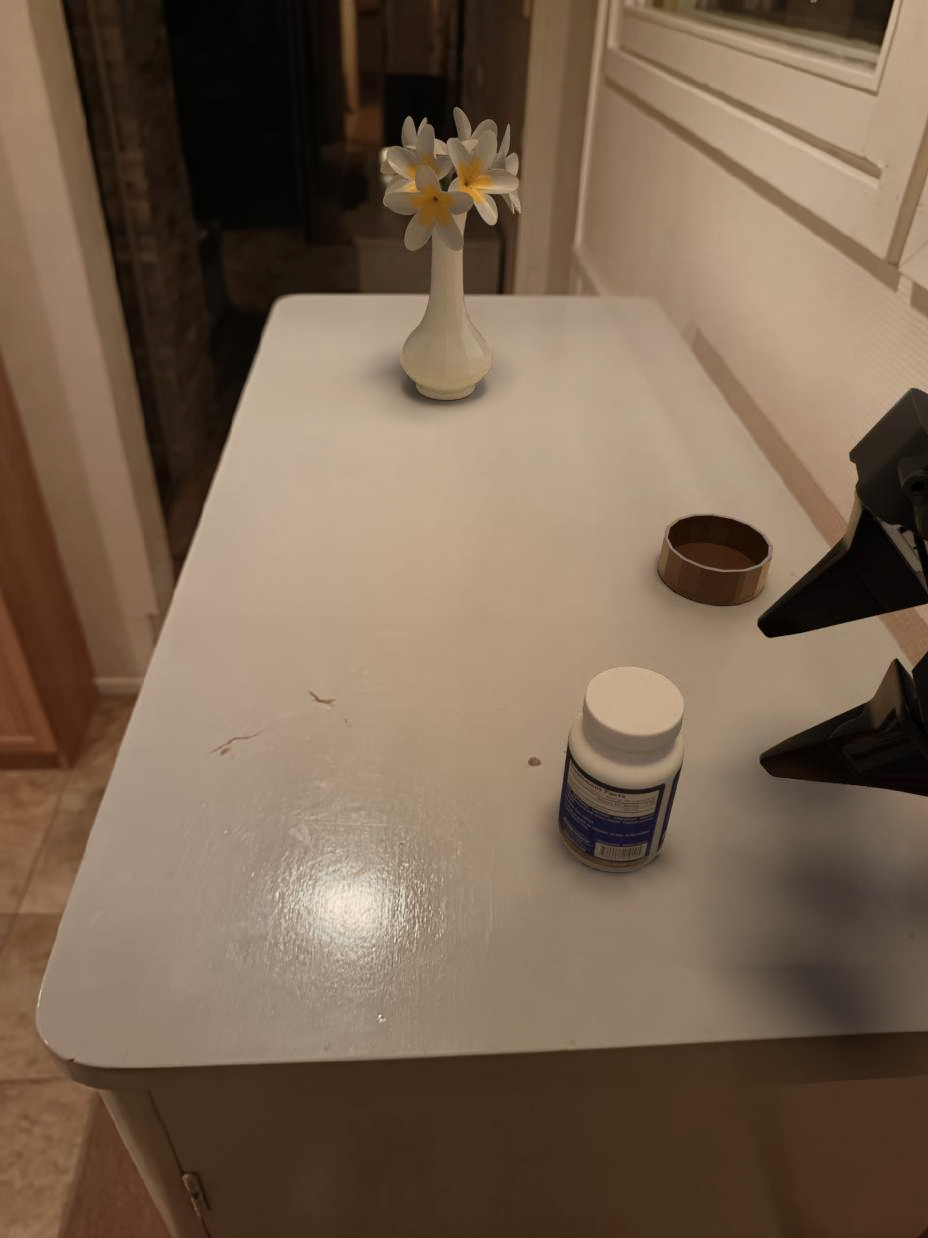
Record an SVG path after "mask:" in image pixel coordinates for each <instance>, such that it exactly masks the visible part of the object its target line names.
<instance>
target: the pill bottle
mask: <svg viewBox="0 0 928 1238" xmlns="http://www.w3.org/2000/svg"><path fill="white" fill-rule="evenodd" d="M684 714H685V700H684V697H683V695H682V692H681V691H680V689H679V688H678V687H677V686H676V684H674V682H672V681H671V680H670V679H668V678H667V677H666V676H664V675H662V674H660V673H658V672H656V671H654V670H650V669H648V668H647V669H646V668H644V667H643V668H642V667H638V666H617V667H612V668H609V669H606V670H604V671H602V672H600V673H598V674H597V675H596V676H594V677H593V678H592V679H591V680H590V681H589V683H588V684H587V687H586V689H585V692H584V696H583V705H582V710H581V711H580V712H579V713H578V715H577V716H576V717H575V718H574V720H573V721H572V724H571V726H570V728H569V732H568V736H567V744H566V752H565V759H564V767H563V775H562V776H563V777H562V785H561V790H560V791H561V792H560V800H559V807H558V816H557V828H558V832H559V835H560V837H561V841H562V842H563V844H564V845H565V847H566V848H567V850H568V851H569V852H570V853H571V854H572V855H573V856H574V857H575V858H576V859H578V860H579V861H581V862H582V863H584V864H586V865H588V866H590V867H592V868H594V869H597V870H601V871H604V872H610V873H623V872H630V871H634V870H638V869H640V868H642V867H644V866H645V865H647V864H649V863H650V862H651V861H652V860H653V859H655V857H656V856H657V855H658V854H659V852H660V850H661V849H662V847H663V844H664V842H665V838H666V834H667V830H668V826H669V822H670V818H671V814H672V810H673V806H674V801H675V798H676V797H675V796H676V793H677V788H678V785H679V781H680V776H681V773H682V769H683V765H684V758H685V741H684V738H683V737H684V736H683V734H682V732H681V730H682V726H683V720H684Z"/></svg>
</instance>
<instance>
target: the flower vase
mask: <svg viewBox="0 0 928 1238" xmlns="http://www.w3.org/2000/svg"><path fill="white" fill-rule="evenodd" d="M453 119H454V123H455V127H456V132H457V137H450V138H448V140H447V141H446V143H445V142H444V141H443V140H440V139H437V138H436V137H435V130H434V127H433V126H432V124H428V118H427V117H424V118H422V120H421V123H420V124H419V127H418V130H416V126H415V122H414V120H413V118H412V116H410V115H408V116H407V117H406V118H405V119H404V122H403V124H402V130H401V145H402V146H399V145H393V146H390V147H389V148H388V149H387V151H386V153H385V159H384V160H383V162H382V164H381V165H380V173H382V174H383V175H391V174H393V175H394V174H395V175H394V176H393V177H392V178H391V179H390V181H389V182H388V184H387V186H386V189H385V191H384V195H383V196H384V197H383V198H382V199H383V200H382V203H383V206H384V207H387V208H388V209H389V210H391V211H392V212H394V213H396V214H399V215H403V216H411V215H413V216H412V218H411V220H410V221H409V223H408V225H407V227H406V229H405V233H404V246H405V248H406V249H407V250H409V251H411V252H414V251H415V252H416V251H418V250H420V249H421V248H423V247H424V246H425V245H426V243H427V242H428V241H429V239H430V238H431V262H430V263H431V265H430V285H429V295H428V302H427V305H426V309H425V312H424V314H423V317H422V319H421V321H420V322H419V324H417V326H416V327H415V328H414V329H413V330H412V331H410V333H409V334H408V335H407V337H406V338H405V340H404V343H403V344H402V347H401V349H400V355H399V359H400V360H399V361H400V364H401V367H402V369H403V371H404V372H405V374H407V376H408V377H409V378H410V379H411V380H412V381H413V382H414V383H415V387H416V390H417V392H419V394H421V395H422V396H425V397H427V398H429V399H433V400H438V401H439V400H440V401H453V400H454V401H455V400H459V399H460V400H461V399H463V398H466V397H468V396H470V395H472V393H474V391H475V388H476V384H477V383H478V382H480V381H481V380H482V379H483V378H484V376H485V375H486V374H487V373H488V372H489V369H490V367H491V364H492V352H491V349H490V346H489V344H488V342H487V340H486V339H485V337H484V335H483V334H482V333H481V332H480V331H479V330H478V329H477V328H476V327H475V326H474V324H473V322H472V321H471V318H470V316H469V313H468V309H467V306H466V301H465V300H466V299H465V292H464V291H465V290H464V245H465V242H464V235H465V227H466V221H467V215H468V212H469V211H470V210H471V209H472V208H473V207H475V209H476V210H477V212H478V214H479V216H480V217H481V218H482V220H483V221H484V223H486V224H487V225H489V226H495V225H496V224H497V222H498V219H499V217H498V216H499V215H498V214H499V212H498V208H497V205H496V202H495V199H494V198H493V197H492V196H491V195H500V196H501V197H502V198H503V200H504V202H505V203H506V204H507V206H508V207H509V210H510V211H511V213H512V214H513V215H515V210H516V211H517V212H518V213H519V214H521V213H522V206H521V201H520V197H519V194H518V192H517V190H518V189H519V187H520V181H519V178H518V177H517V174H518V173H519V172H518V171H519V157H518V154H517V153H516V152H512V153H510V154H509V155H508V153H509V149H510V144H511V142H510V141H511V125H510V123H508V124H507V126H506V130H505V133H504V136H503V139H502V141H501V144H500V147H499V149H498V139H497V138H498V126H497V123H496V122H495V121H494V120H493V119H485V120H483V121H481V122H480V123H479V124H478V125H477V127H476V128H475V130H474V131H473V133H472V125H471V123H470V121H469V118H468V116H467V115H466V114H465V112H464V111H463V110H462V109H461V108H460V107H457V106H455V107H454V108H453ZM507 155H508V156H507ZM454 173H456V175H457V176H456V177H455V178H454V179H453V174H454ZM452 179H453V180H452Z"/></svg>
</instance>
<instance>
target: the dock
mask: <svg viewBox="0 0 928 1238" xmlns="http://www.w3.org/2000/svg"><path fill="white" fill-rule="evenodd" d="M661 544H662V545H661V550H660V554H659V560H658V567H657V569H658V573H659V576H660V578H661V580H662V581H663V582H664V584H665V585H666V586H667V587H668V588H670V589H671V590H672V591H674V592H675V593H676V594H678V595H680V596H682V597H684V598H686V599H689V600H691V601H695V602H697V603H702V604H706V605H712V606H734V605H739V604H744V603H747V602H748V601H751V600H753V599H754V598H756V597H757V596H758V595H759V594H760V593H761V591H762V589H763V586H765V583H766V579H767V577H768V572H769V569H770V565H771V562H772V559H773V551H774V550H773V549H774V547H773V543H772V542H771V541H770V539H769V538H768V536H767V535H766V533H764V532H763V531H761V530H760V529H758V528H757V527H756V526H754V525H753V524H751V523H749V522H747V521H744V520H741V519H739V518H736V517H734V516H729V515H723V514H718V513H711V512H710V513H691V514H688V515H684V516H680V517H677V518H676V519H674V520H673V521H672V522H670V523H669V524H668V525H666V527H665V531H664V535H663V539H662V543H661Z"/></svg>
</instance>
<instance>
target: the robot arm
mask: <svg viewBox="0 0 928 1238" xmlns="http://www.w3.org/2000/svg"><path fill="white" fill-rule="evenodd" d="M848 457H849V461H850V462H851V463H852V464H854V465H855V470H856V474H857V481H856V484H855V486H854V491H853V496H854V499H853V504H852V508H851V512H850V515H849V519H848V523H847V526H846V530H845V532H844V534H843V536H842V537H841V538H840V539H839V540H838V541H837V542H836V543H835V544H834V545H833V547H832V548H830V549H829V551H828V552H827V553H826V554H825V555H824V556H823V557H821V559H820V560H818V562H817V563H815V565H813V567H811V568H810V570H808V571H807V572H806V573H805V574H804V575H803V576H802V577H801V578H799V579H798V580H797V581H796V583H794V584H793V585H792V586H791V587H790V588H789V589H787V591H785V592H784V593H783V594H782V595H781V596H780V597H779V598H778V599H777V600H776V601H775V602H774V603H772V605H770V606H769V607H768V608H767V609H766V610H765V611H764V612H763V613H762V614H761V615H760V616H758V618H757V620H756V626H757V628H758V629H759V631H760V632H761V633H762V634H763V636H764V637H766V638H767V639H774V638H780V637H781V638H782V637H787V636H793V635H799V634H804V633H808V632H813V631H817V630H821V629H826V628H830V627H834V626H839V625H843V624H848V623H852V622H855V621H859V620H864V619H869V618H872V617H877V616H881V615H885V614H890V613H895V612H899V611H903V610H907V609H913V608H916V607H920V606H925V605H928V393H927V392H926V391H923V390H921V389H919V388H917V387H909V388H908V389H907V391H905V393H904V394H903V395H901V397H900V398H899V399H898V400H897V401H896V402H895V403H894V404H893V405H892V406H891V407H890V408H889V410H888V411H886V413H885V414H884V415H883V416H882V417H881V418H880V419H879V420H878V421H877V422H876V423H875V424H874V426H873V427H872V428H871V429H869V431H868V432H866V434H865V435H864V436H863V437H862V438H861V439H860V440H859V441H858V442H857V444H855V446H854V447H852V449H850V451H849V453H848ZM758 757H759V760H758V762H759V765H760V766H761V767H762V768H763V769H764V771H765V772H766V773H767V774H768V775H769V776H770V777H772V778H777V779H786V780H797V781H805V782H814V783H815V782H816V783H825V784H835V785H844V786H854V787H863V788H865V787H866V788H871V789H880V790H888V791H893V792H894V791H895V792H900V793H903V794H904V793H905V794H910V795H916V796H920V797H925V798H928V650H927V651H926V652H925V653H924V654H923V656H922V657H921V658H920V659H919V661H917V663H916V665H915V666H914V667H913V668H912V669H911V674H910V673H909V671H908V670H907V669H906V667H905V666H904V665H903V664H902V662H901V661H900V660H899V659H898V657H895V658H894V659H893V660H892V661H890V664H889V666H888V668H887V669H886V671H885V674H884V676H883V678H882V680H881V682H880V684H879V686H878V688H877V690H876V692H875V694H874V695H873V696H872V698H870V699H869V700H867V701H866V702H864V703H861V704H859V705H857V706H855V707H852V708H850V709H849V710H846V711H844V712H842V713H840V714H837V715H835V716H833V717H831V718H828V719H826V720H824V721H822V722H819V723H817V724H816V725H813V726H811V727H808V728H807V729H804V730H803V731H800V732H798V733H796V734H794V735H791V736H789V737H787V738H786V739H783V740H781V741H780V742H778V743H777V744H775V745H773V746H772V747H770V748H768V749H766V750H765V751H763V752H761V753H760V754H759V756H758Z"/></svg>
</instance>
